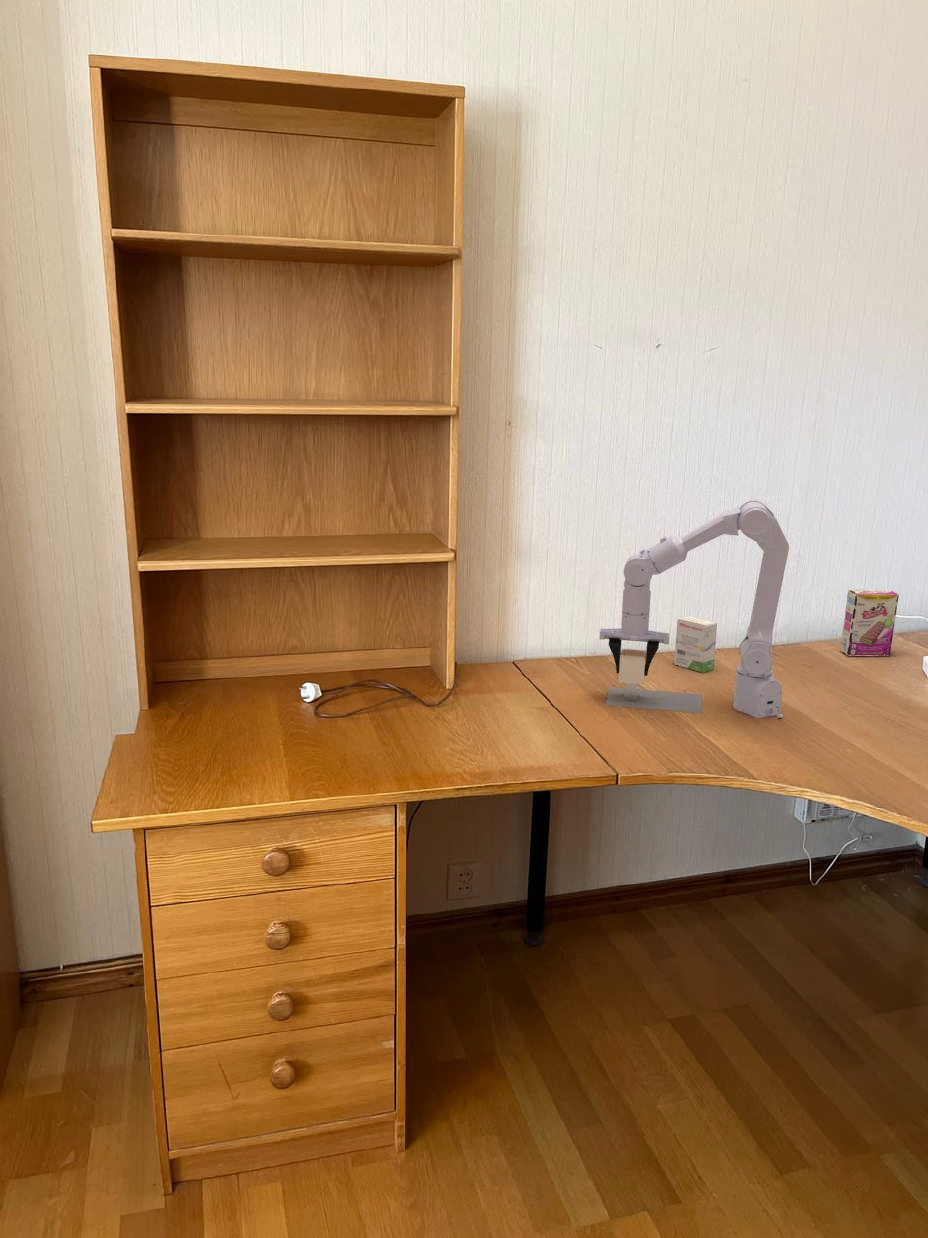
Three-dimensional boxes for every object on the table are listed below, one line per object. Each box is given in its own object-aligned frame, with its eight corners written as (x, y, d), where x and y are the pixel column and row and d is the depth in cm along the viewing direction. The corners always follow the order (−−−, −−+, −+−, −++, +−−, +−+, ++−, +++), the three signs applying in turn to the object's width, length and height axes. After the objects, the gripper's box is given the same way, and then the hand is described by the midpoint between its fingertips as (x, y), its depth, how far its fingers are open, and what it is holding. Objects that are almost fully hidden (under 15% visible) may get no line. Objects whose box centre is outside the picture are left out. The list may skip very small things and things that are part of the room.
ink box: (714, 669, 232) (718, 622, 229) (702, 673, 229) (705, 625, 225) (685, 661, 238) (689, 614, 235) (673, 664, 235) (676, 618, 232)
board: (701, 698, 211) (701, 694, 211) (702, 717, 200) (702, 713, 200) (609, 691, 216) (609, 686, 215) (604, 709, 204) (605, 705, 204)
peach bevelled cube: (644, 676, 210) (646, 650, 208) (643, 684, 205) (645, 657, 203) (620, 674, 211) (621, 648, 209) (618, 682, 206) (620, 655, 204)
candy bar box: (848, 657, 242) (855, 593, 238) (839, 651, 247) (846, 589, 243) (891, 657, 243) (899, 593, 238) (882, 651, 248) (889, 588, 243)
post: (637, 700, 210) (638, 674, 208) (636, 704, 207) (637, 678, 206) (624, 699, 210) (626, 673, 209) (624, 703, 208) (625, 677, 206)
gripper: (599, 614, 201) (596, 676, 205) (670, 619, 198) (666, 681, 202) (602, 606, 208) (599, 666, 212) (671, 610, 205) (666, 671, 209)
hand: (632, 673), depth 207 cm, fingers closed on peach bevelled cube, 5 cm apart
